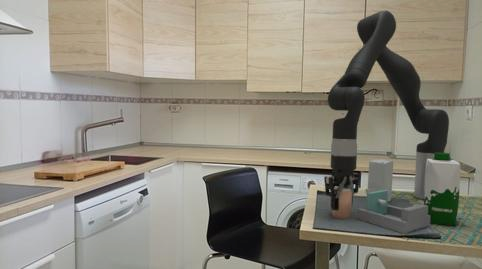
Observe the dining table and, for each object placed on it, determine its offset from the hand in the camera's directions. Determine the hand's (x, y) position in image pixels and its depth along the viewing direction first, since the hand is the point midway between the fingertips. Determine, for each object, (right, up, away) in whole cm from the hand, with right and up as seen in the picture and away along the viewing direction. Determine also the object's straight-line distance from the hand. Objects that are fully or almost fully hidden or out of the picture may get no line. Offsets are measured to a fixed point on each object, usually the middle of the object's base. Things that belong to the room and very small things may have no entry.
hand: (341, 208), depth 108 cm
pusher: (+11, -2, -2) cm, 11 cm away
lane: (+13, -3, -5) cm, 15 cm away
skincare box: (+19, -2, +19) cm, 27 cm away
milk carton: (+28, -3, -3) cm, 28 cm away
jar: (0, -2, 0) cm, 2 cm away
